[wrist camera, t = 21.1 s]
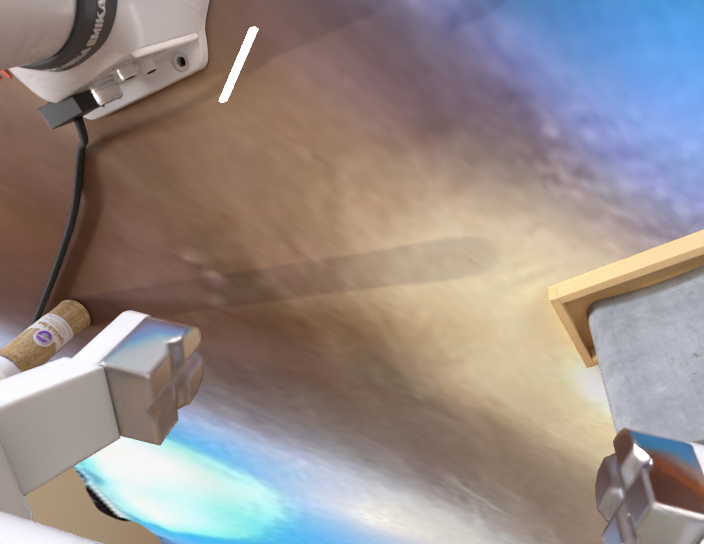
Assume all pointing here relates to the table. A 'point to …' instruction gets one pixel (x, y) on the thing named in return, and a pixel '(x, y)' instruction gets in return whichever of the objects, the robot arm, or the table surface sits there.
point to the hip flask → (654, 356)
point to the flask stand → (620, 285)
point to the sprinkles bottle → (43, 338)
